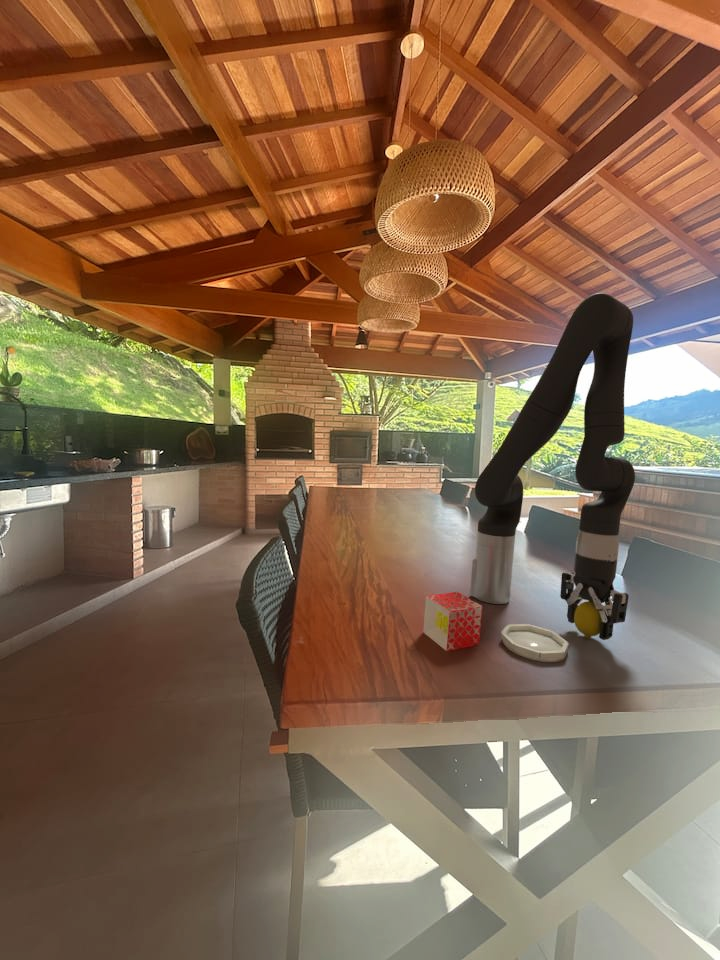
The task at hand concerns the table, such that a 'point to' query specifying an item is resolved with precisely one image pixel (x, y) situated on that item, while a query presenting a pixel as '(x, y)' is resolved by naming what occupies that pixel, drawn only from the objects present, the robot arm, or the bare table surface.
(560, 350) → the robot arm
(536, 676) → the table surface
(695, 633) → the table surface
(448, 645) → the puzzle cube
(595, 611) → the lemon
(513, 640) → the dish
